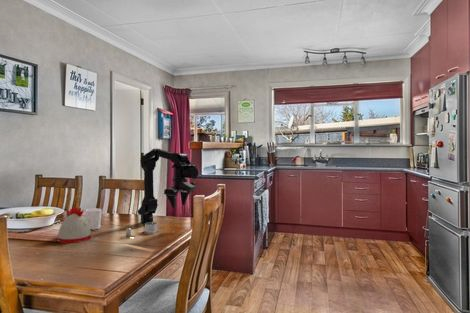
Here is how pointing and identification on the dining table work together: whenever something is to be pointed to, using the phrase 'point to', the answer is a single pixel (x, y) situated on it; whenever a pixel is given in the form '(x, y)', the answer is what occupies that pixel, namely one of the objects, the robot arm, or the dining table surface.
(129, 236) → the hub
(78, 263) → the dining table surface
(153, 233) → the stand
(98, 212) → the white cup
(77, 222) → the chicken hat
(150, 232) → the collar
